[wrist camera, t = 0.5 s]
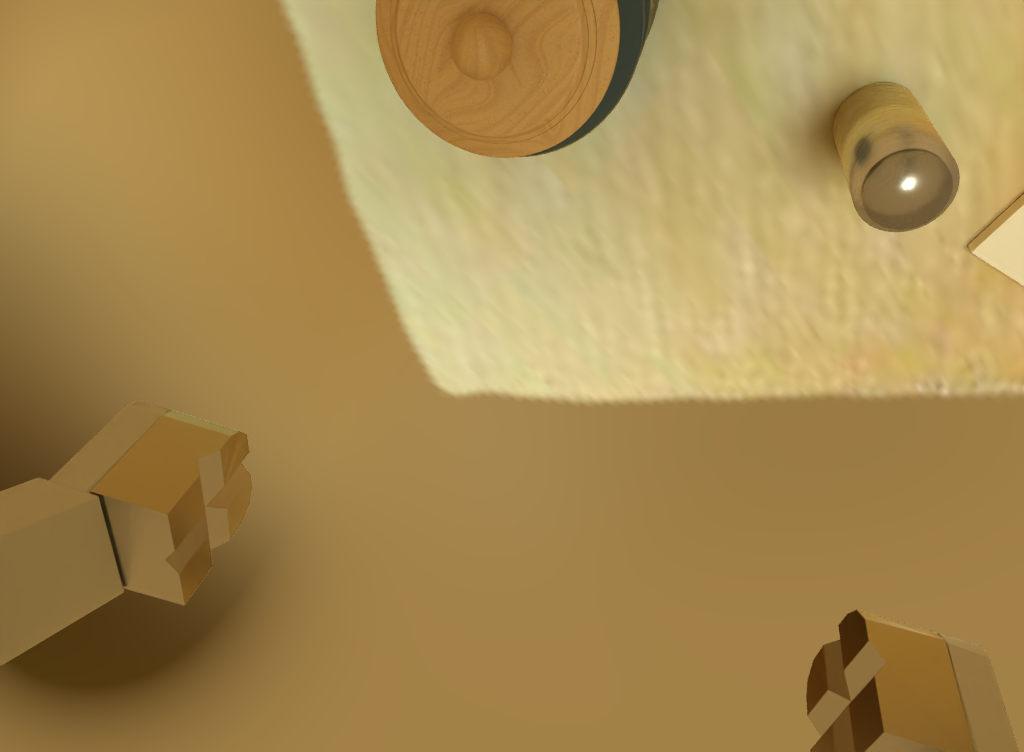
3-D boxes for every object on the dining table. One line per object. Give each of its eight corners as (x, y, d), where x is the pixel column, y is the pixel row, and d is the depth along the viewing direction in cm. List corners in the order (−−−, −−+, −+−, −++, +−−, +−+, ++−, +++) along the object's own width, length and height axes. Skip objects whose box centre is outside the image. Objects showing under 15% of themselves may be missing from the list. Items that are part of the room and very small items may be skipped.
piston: (873, 65, 44) (904, 125, 36) (939, 109, 44) (986, 178, 36) (815, 135, 47) (832, 205, 39) (878, 176, 47) (908, 253, 39)
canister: (510, 124, 51) (426, 241, 37) (409, -75, 45) (266, -24, 31) (696, 35, 45) (680, 134, 31) (608, -206, 39) (540, -215, 26)
